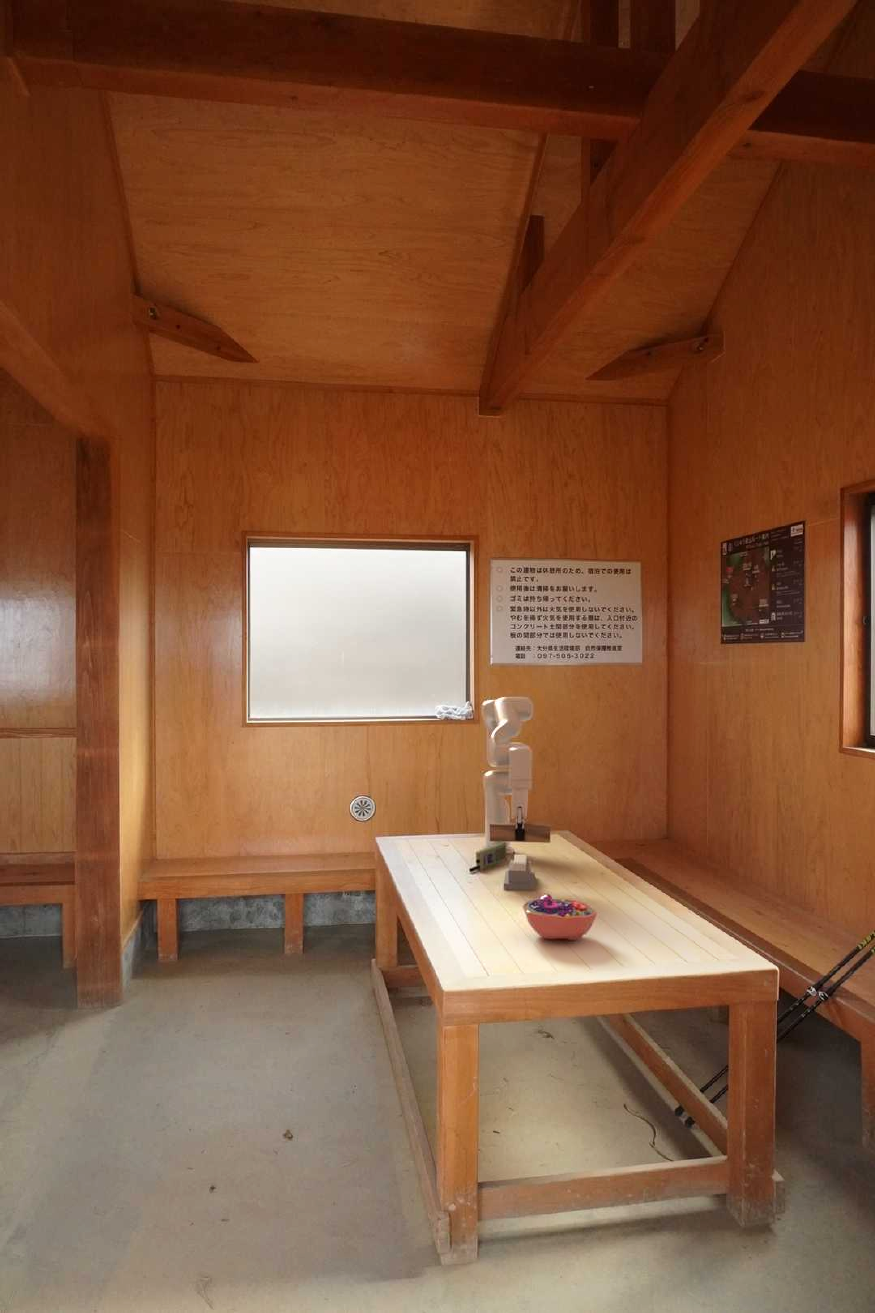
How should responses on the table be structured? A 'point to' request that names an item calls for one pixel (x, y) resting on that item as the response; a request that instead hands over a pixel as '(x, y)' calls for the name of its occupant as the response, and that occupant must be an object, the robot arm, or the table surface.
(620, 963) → the table surface
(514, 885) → the ridge stand
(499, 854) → the handheld radio
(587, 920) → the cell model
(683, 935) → the table surface
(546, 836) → the walnut bar
